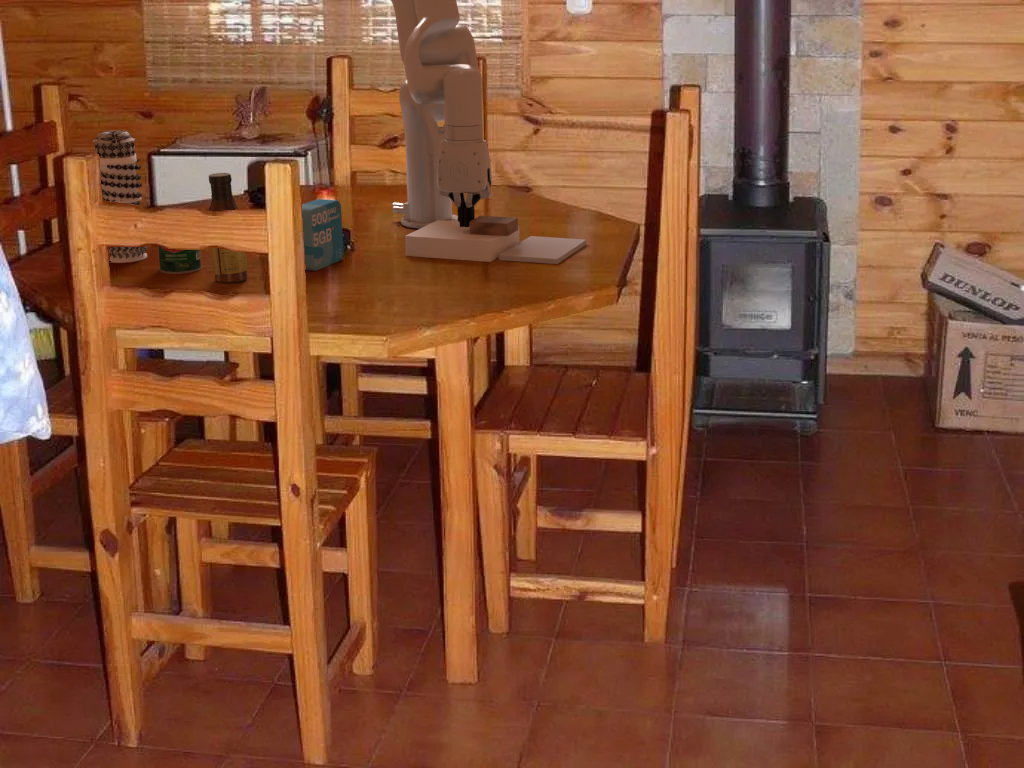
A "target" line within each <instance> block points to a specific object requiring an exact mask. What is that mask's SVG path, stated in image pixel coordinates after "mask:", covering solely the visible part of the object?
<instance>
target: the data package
mask: <svg viewBox="0 0 1024 768" xmlns="http://www.w3.org/2000/svg"><path fill="white" fill-rule="evenodd" d="M301 205H302V218H303V232H304V247H305V264H306V270H305V271H310V272H311V271H312V272H316V271H319V270H322V269H324V268H326V267H328V266H331V265H332V264H333V263H334V264H336V263H338V262H340V261H341V260H342V259H343V257H344V239H343V237H344V236H343V221H342V220H343V219H342V217H343V216H342V204H341V202H340V201H339V200H337V199H323V198H319V199H318V198H316V199H314V200H311V201H309V202H305V203H302V204H301Z"/></svg>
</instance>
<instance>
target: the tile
mask: <svg viewBox="0 0 1024 768" xmlns="http://www.w3.org/2000/svg"><path fill="white" fill-rule="evenodd" d="M518 219H519V218H518V217H514V216H513V217H512V216H510V217H509V216H495V215H494V216H492V215H478V216H477V217H475V219H473V220H471V221H470V222H469V229H470V234H476V235H494V236H509V235H511V234H512V233H514V232H516V231H517V230H518V225H519V220H518Z"/></svg>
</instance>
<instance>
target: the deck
mask: <svg viewBox="0 0 1024 768" xmlns="http://www.w3.org/2000/svg"><path fill="white" fill-rule="evenodd" d="M404 241H405V242H404V243H405V245H404V246H405V256H406V257H414V258H415V257H416V258H417V257H418V258H419V257H421V258H432V259H442V260H443V259H445V260H458V261H459V260H460V261H472V262H473V261H474V262H488V263H491V262H492V261H493V262H494V261H495V260H496V259H499V255H500V254H501V253H503V252H505V251H506V250H508V249H510V248H511V247H513V246H515V245H517V244H518V243H520V224H518V230H517V231H516V232H514V233H512V234H511V235H509V236H494V235H476V234H470V229H469V227H460V222H458V221H443V220H437V221H435V222H433V223H431V224H429V225H427V226H425V227H422V228H417V229H416V230H414V231H412V232H410V233H408V234H406V235H405V236H404Z"/></svg>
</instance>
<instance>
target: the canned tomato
mask: <svg viewBox="0 0 1024 768" xmlns="http://www.w3.org/2000/svg"><path fill="white" fill-rule="evenodd" d="M157 248H158V249H157V250H158V262H159V271H160V273H163V274H168V275H169V274H170V275H182V274H183V275H184V274H189V273H195V272H198V271H200V270H201V269H202V259H201V249H200V250H175V249H168V248H165V247H161V246H158V245H157Z"/></svg>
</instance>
